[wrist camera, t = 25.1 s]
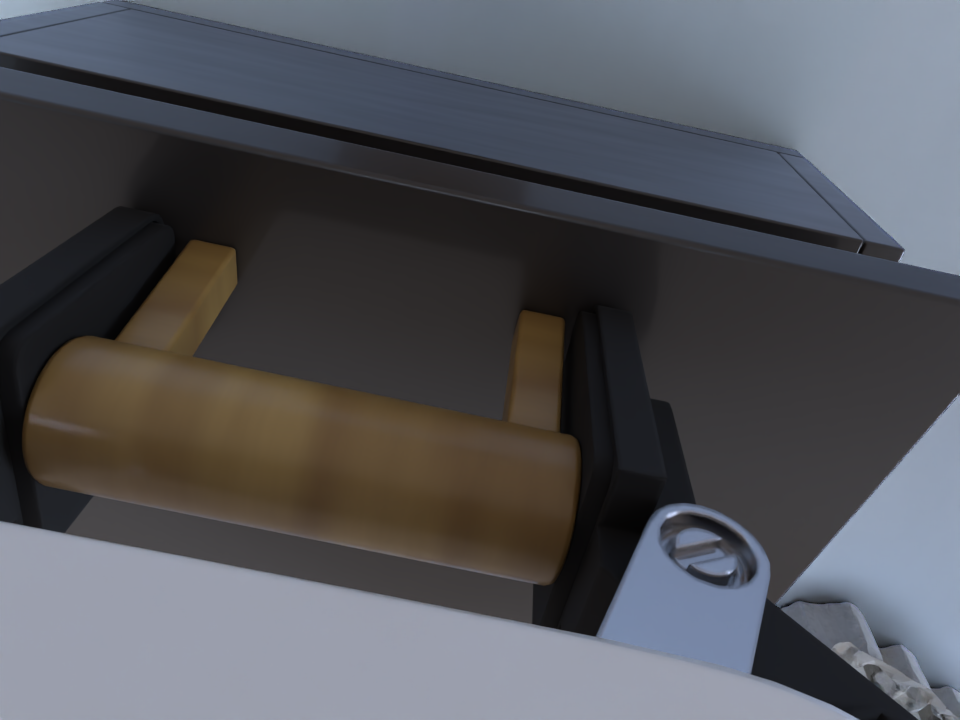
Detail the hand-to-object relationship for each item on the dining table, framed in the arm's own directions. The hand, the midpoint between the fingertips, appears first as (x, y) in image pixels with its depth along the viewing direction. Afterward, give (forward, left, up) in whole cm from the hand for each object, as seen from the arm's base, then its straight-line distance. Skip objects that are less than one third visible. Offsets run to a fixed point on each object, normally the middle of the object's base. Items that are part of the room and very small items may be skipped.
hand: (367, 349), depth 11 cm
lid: (0, +4, -2) cm, 5 cm away
